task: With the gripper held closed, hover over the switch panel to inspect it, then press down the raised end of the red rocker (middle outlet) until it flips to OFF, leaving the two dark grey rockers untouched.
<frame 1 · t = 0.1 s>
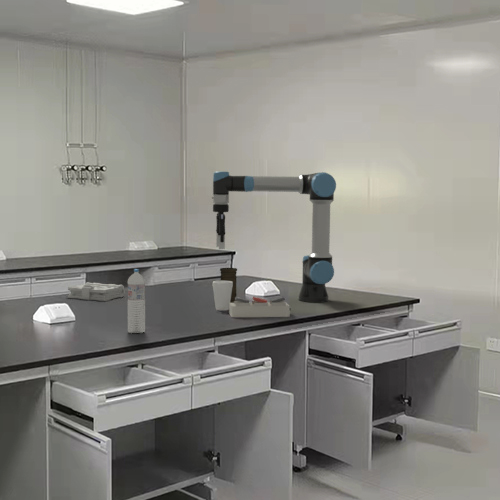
hand: (220, 248, 367), 28 cm above the worktop, fingers open, 13 cm apart
rocker 3: (242, 300, 339), point 7 cm above the worktop, hinge at -15.0°
rocker 2: (259, 299, 340), point 7 cm above the worktop, hinge at -15.0°
rocker 1: (277, 299, 341), point 7 cm above the worktop, hinge at 15.0°
foam cup: (222, 309, 358), on the worktop
water bottle: (136, 332, 300), on the worktop
container: (228, 305, 370), on the worktop
switch panel: (259, 315, 343), on the worktop
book: (92, 298, 392), on the worktop
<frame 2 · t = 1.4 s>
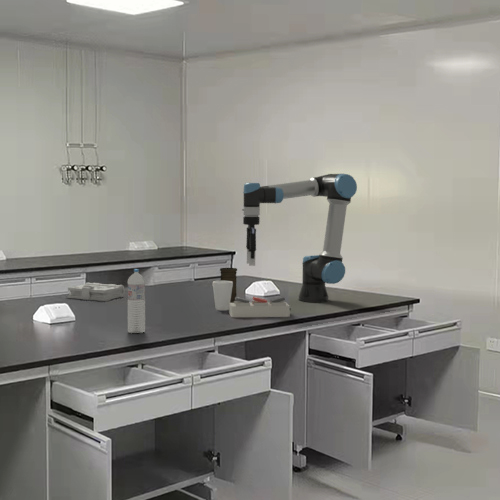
hand: (250, 264, 356), 21 cm above the worktop, fingers open, 9 cm apart
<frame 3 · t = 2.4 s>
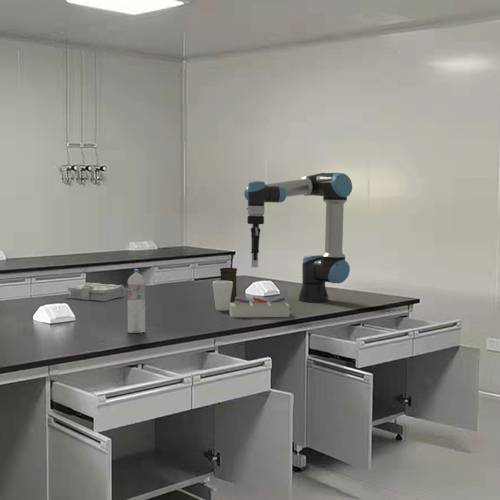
hand: (254, 267, 347), 21 cm above the worktop, fingers closed
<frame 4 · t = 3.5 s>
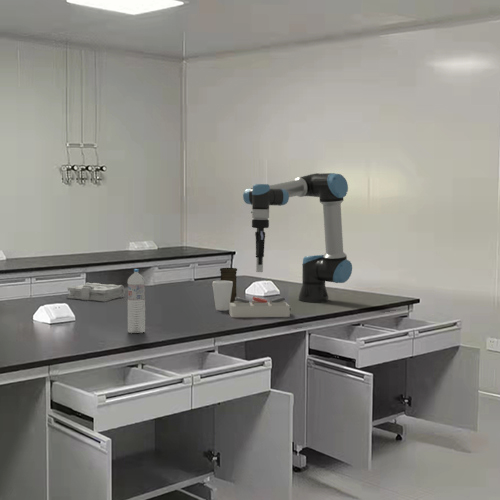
hand: (259, 271, 339), 20 cm above the worktop, fingers closed
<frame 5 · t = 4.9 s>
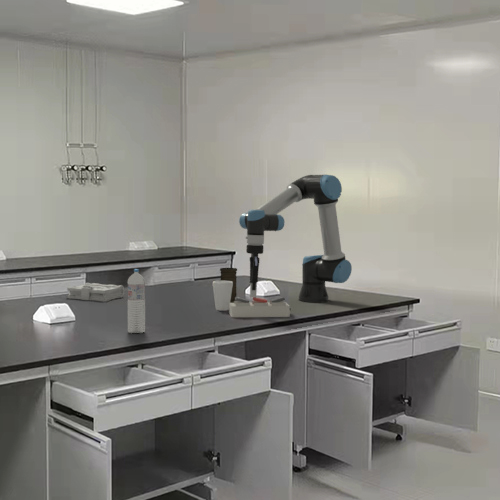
hand: (253, 297, 340), 9 cm above the worktop, fingers closed
rocker 2: (259, 299, 340), point 7 cm above the worktop, hinge at -12.3°, touching gripper
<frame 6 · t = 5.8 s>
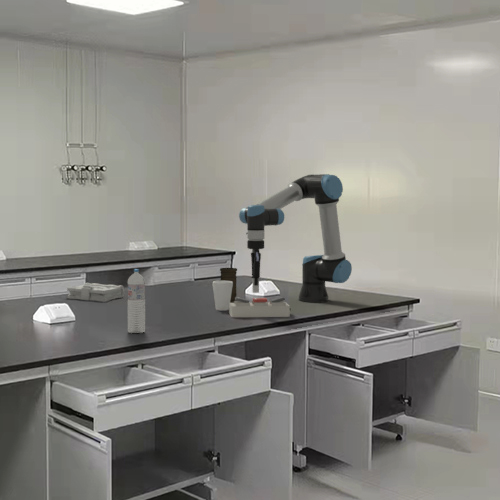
hand: (255, 292, 340), 11 cm above the worktop, fingers closed
rocker 2: (259, 299, 340), point 7 cm above the worktop, hinge at 1.0°
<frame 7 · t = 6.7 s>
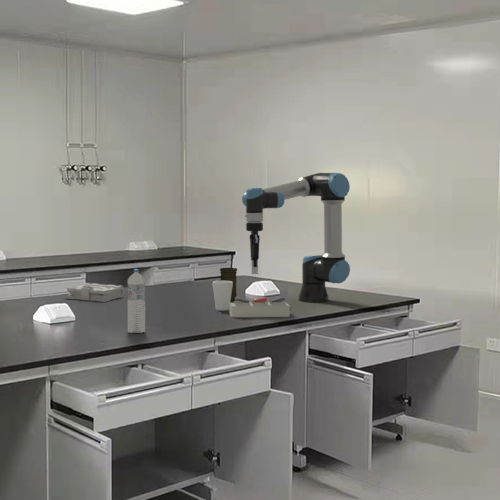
hand: (254, 273, 346), 18 cm above the worktop, fingers closed
rocker 2: (259, 299, 340), point 7 cm above the worktop, hinge at 9.8°
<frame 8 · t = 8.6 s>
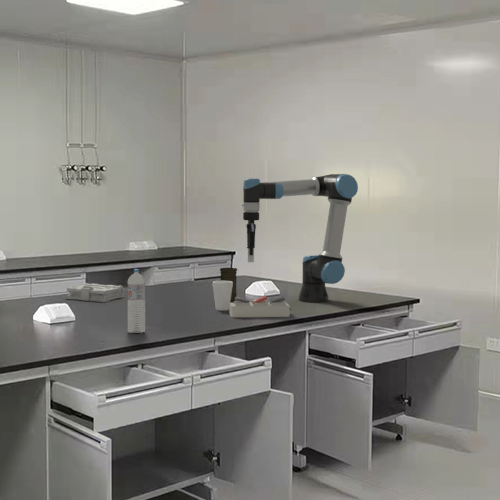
hand: (250, 262, 356), 22 cm above the worktop, fingers closed
rocker 2: (259, 299, 340), point 7 cm above the worktop, hinge at 22.5°
at the end: rocker 2 at +23° (first picture: -15°); rocker 1 at +15° (first picture: +15°); rocker 3 at -15° (first picture: -15°) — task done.
